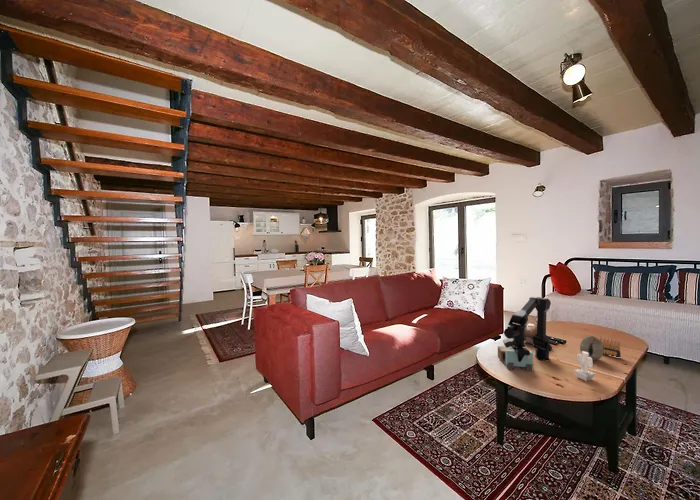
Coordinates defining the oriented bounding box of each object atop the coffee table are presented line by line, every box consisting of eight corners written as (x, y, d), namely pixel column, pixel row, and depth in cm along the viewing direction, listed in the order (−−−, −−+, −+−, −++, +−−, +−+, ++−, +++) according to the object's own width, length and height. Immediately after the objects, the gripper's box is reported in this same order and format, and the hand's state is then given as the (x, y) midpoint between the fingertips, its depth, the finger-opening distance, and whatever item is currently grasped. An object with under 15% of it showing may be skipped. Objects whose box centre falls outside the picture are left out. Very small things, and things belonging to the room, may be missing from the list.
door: (507, 366, 175) (507, 351, 175) (505, 363, 179) (505, 349, 178) (533, 368, 172) (533, 353, 171) (531, 365, 175) (531, 350, 175)
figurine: (597, 380, 159) (598, 353, 159) (584, 382, 157) (585, 355, 156) (584, 374, 166) (584, 348, 166) (571, 376, 164) (572, 350, 163)
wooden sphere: (519, 344, 211) (519, 324, 210) (520, 338, 224) (521, 319, 223) (544, 348, 203) (544, 327, 202) (544, 341, 215) (544, 321, 215)
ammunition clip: (620, 358, 186) (621, 339, 185) (620, 358, 185) (620, 340, 184) (598, 353, 194) (599, 335, 193) (598, 353, 193) (598, 336, 192)
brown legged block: (524, 358, 188) (524, 347, 188) (535, 371, 171) (535, 359, 171) (497, 356, 192) (497, 346, 192) (505, 368, 175) (505, 357, 174)
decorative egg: (581, 354, 193) (581, 331, 192) (604, 359, 185) (605, 336, 184) (578, 359, 185) (578, 336, 184) (602, 365, 177) (603, 341, 176)
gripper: (500, 329, 186) (500, 353, 186) (508, 340, 167) (508, 366, 168) (519, 330, 183) (519, 354, 184) (530, 341, 165) (530, 368, 166)
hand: (518, 360), depth 175 cm, fingers closed on door, 2 cm apart
